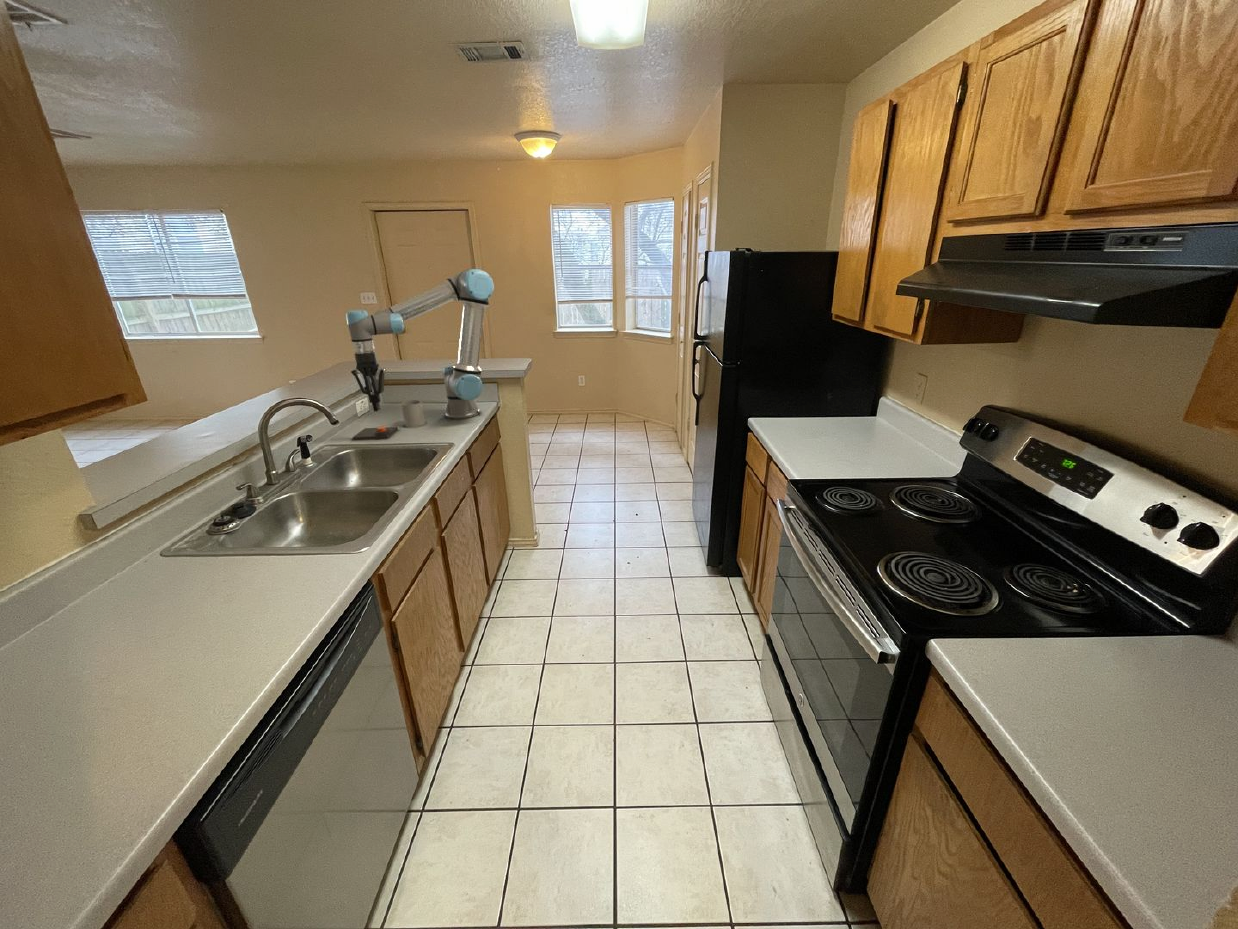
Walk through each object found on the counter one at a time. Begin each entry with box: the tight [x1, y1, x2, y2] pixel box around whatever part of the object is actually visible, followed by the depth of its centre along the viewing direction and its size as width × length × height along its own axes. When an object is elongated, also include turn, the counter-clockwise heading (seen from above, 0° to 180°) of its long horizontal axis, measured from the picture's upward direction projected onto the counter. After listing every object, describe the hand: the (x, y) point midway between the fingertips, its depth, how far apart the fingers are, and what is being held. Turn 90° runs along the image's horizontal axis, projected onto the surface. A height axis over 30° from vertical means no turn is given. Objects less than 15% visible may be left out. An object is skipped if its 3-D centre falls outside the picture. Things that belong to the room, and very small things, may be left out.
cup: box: [400, 399, 426, 428], centre depth 224 cm, size 8×8×10 cm
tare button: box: [377, 426, 387, 432], centre depth 209 cm, size 3×3×2 cm
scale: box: [352, 426, 399, 441], centre depth 213 cm, size 14×12×3 cm
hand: (377, 410), depth 206 cm, fingers closed
